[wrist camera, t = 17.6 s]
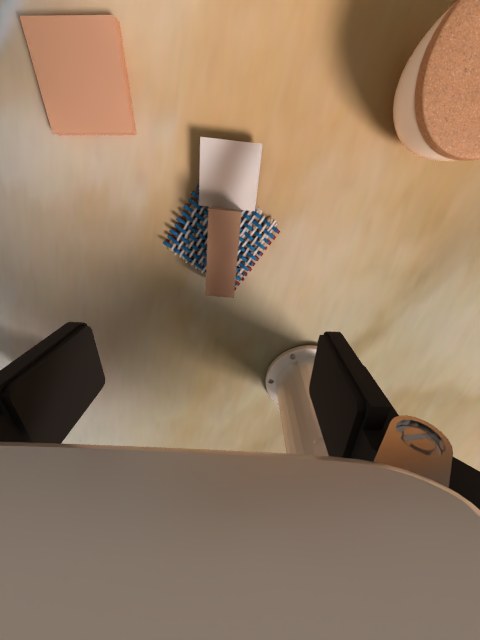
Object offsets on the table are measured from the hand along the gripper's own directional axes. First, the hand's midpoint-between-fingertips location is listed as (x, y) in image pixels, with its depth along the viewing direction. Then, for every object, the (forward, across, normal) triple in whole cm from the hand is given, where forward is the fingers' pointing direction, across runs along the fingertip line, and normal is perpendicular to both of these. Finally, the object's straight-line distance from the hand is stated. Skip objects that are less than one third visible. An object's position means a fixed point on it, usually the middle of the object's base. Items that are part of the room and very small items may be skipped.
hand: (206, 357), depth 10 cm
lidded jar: (+23, -19, -14) cm, 33 cm away
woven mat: (+24, +1, -2) cm, 24 cm away
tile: (+22, +14, -11) cm, 28 cm away
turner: (+21, +1, -3) cm, 22 cm away
